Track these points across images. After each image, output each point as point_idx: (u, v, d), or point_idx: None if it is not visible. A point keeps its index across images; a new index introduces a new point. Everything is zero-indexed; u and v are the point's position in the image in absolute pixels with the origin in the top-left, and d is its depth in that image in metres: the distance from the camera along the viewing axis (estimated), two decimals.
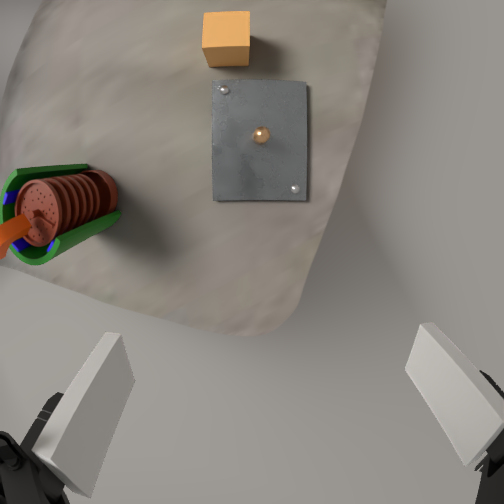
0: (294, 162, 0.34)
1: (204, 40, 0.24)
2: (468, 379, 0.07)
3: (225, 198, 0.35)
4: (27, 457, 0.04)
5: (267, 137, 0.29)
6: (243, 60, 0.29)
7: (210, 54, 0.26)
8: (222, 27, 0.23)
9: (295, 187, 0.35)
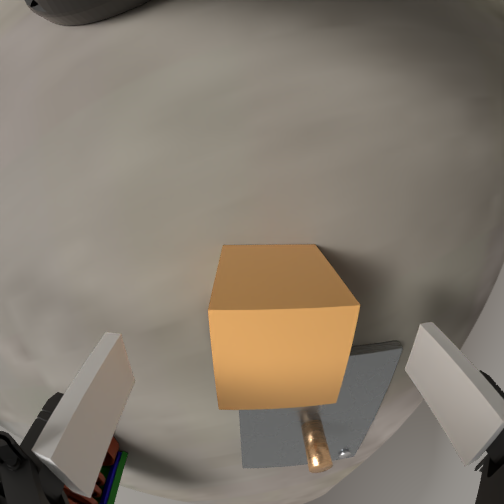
0: (351, 436, 0.21)
1: (222, 394, 0.10)
2: (468, 379, 0.07)
3: (258, 466, 0.22)
4: (27, 457, 0.04)
5: (327, 468, 0.16)
6: None
7: None
8: (272, 364, 0.10)
9: (345, 454, 0.22)
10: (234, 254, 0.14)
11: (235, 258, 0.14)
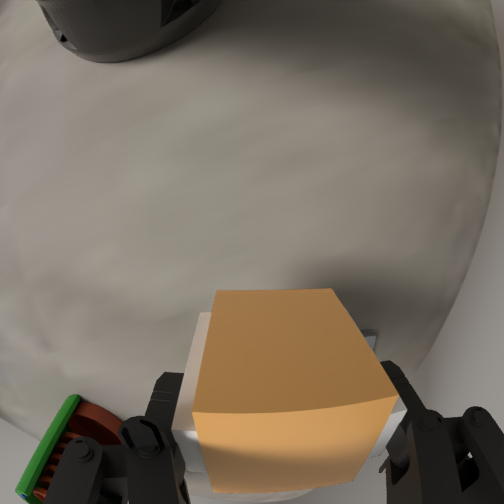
0: None
1: (217, 482, 0.07)
2: None
3: None
4: (168, 445, 0.06)
5: None
6: None
7: None
8: (279, 460, 0.06)
9: None
10: (230, 307, 0.11)
11: (231, 314, 0.10)
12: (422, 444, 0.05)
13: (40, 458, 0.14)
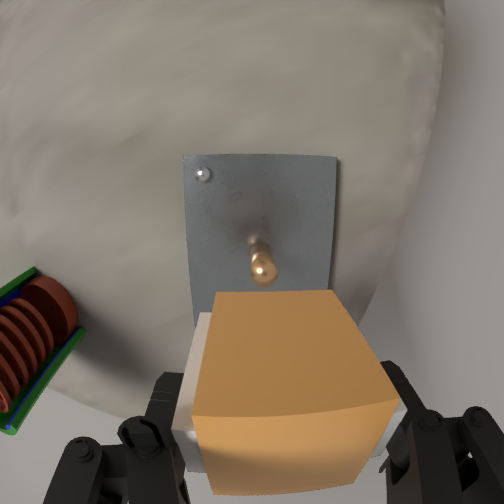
0: (310, 286, 0.24)
1: (217, 484, 0.07)
2: None
3: None
4: (168, 445, 0.06)
5: (272, 280, 0.19)
6: None
7: None
8: (279, 463, 0.06)
9: None
10: (230, 308, 0.11)
11: (231, 316, 0.10)
12: (422, 444, 0.05)
13: None
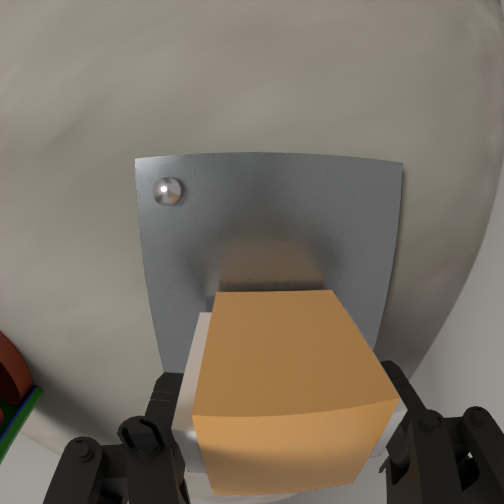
0: None
1: (217, 484, 0.07)
2: None
3: None
4: (168, 445, 0.06)
5: None
6: None
7: None
8: (279, 463, 0.06)
9: None
10: (230, 308, 0.11)
11: (231, 316, 0.10)
12: (422, 444, 0.05)
13: None
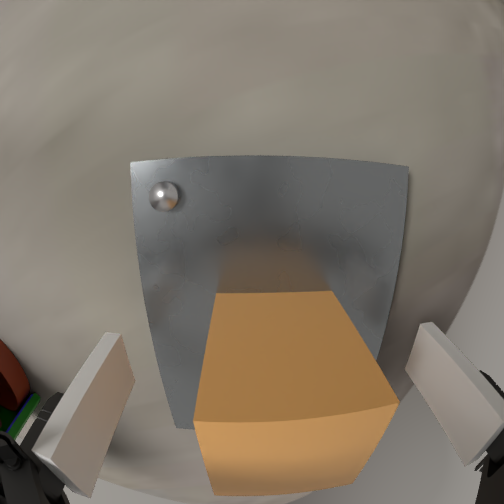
0: None
1: (218, 485, 0.07)
2: (468, 379, 0.07)
3: None
4: (27, 457, 0.04)
5: None
6: None
7: None
8: (279, 465, 0.06)
9: None
10: (230, 310, 0.11)
11: (231, 318, 0.10)
12: None
13: None
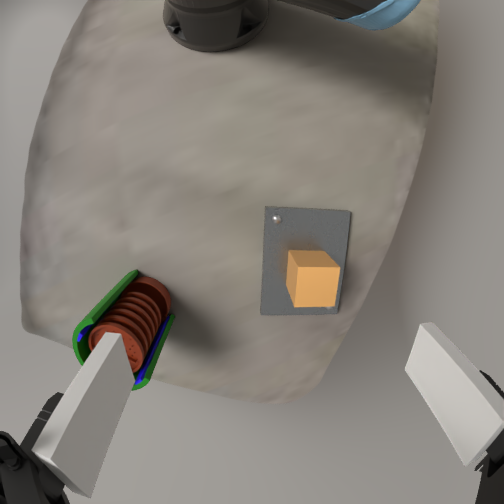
0: None
1: (296, 299, 0.33)
2: (468, 379, 0.07)
3: (271, 313, 0.42)
4: (27, 457, 0.04)
5: None
6: None
7: None
8: (314, 286, 0.33)
9: None
10: (295, 253, 0.37)
11: (296, 254, 0.37)
12: None
13: (107, 299, 0.30)
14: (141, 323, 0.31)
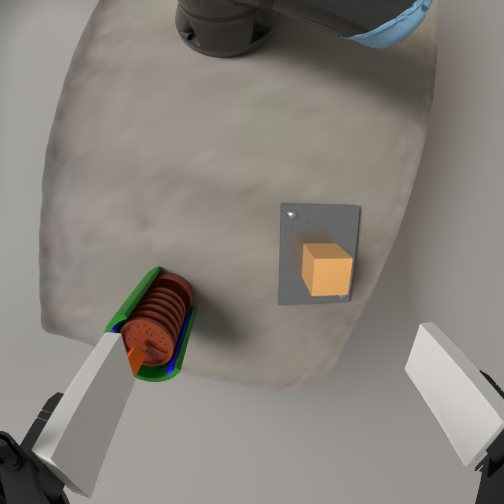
0: None
1: (313, 289, 0.36)
2: (468, 379, 0.07)
3: (288, 303, 0.44)
4: (27, 457, 0.04)
5: None
6: None
7: None
8: (329, 276, 0.36)
9: None
10: (310, 246, 0.40)
11: (311, 247, 0.39)
12: None
13: (136, 296, 0.33)
14: (170, 316, 0.34)
